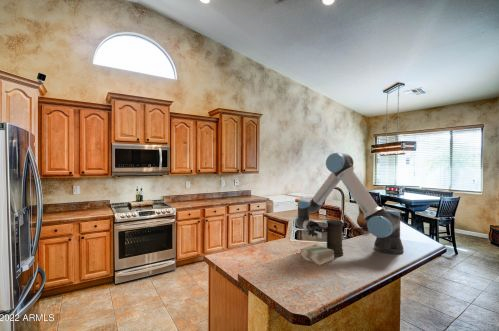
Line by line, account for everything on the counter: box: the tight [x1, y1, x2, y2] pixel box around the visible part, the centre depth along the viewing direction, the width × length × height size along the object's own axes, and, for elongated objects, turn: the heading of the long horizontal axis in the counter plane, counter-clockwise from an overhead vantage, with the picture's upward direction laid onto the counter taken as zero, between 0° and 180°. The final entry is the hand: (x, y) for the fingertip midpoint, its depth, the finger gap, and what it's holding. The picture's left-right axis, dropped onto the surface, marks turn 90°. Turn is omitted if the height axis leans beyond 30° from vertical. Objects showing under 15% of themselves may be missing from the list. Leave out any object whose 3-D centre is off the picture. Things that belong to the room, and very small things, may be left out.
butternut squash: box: [356, 198, 375, 231], centre depth 198 cm, size 14×13×25 cm
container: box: [326, 219, 344, 257], centre depth 141 cm, size 9×9×18 cm
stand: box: [300, 244, 335, 266], centre depth 133 cm, size 12×12×5 cm
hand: (331, 235), depth 142 cm, fingers open, 13 cm apart
